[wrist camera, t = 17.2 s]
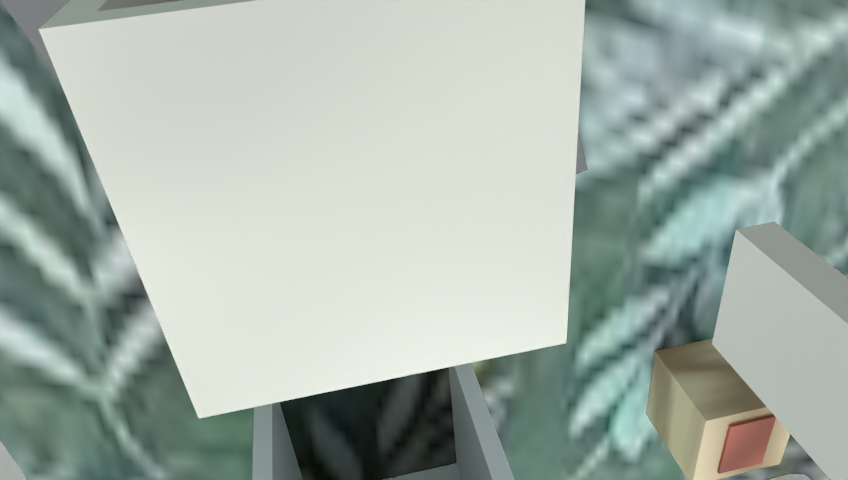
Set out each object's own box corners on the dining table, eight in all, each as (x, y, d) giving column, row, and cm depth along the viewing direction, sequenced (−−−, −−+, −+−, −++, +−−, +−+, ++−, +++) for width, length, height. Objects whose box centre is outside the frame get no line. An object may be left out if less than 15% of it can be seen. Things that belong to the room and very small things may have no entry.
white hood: (222, 220, 25) (198, 418, 17) (136, -61, 19) (38, 29, 11) (473, 178, 26) (566, 342, 18) (460, -99, 21) (587, -44, 12)
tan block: (645, 412, 38) (693, 488, 33) (654, 350, 35) (707, 423, 30) (725, 394, 38) (781, 466, 34) (740, 330, 35) (804, 400, 31)
